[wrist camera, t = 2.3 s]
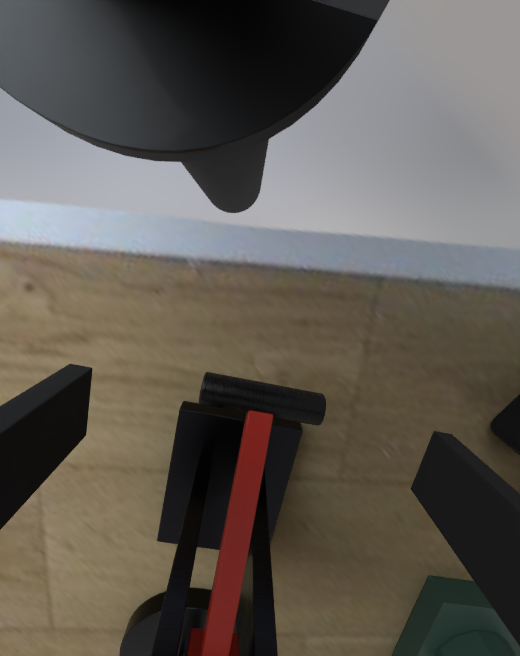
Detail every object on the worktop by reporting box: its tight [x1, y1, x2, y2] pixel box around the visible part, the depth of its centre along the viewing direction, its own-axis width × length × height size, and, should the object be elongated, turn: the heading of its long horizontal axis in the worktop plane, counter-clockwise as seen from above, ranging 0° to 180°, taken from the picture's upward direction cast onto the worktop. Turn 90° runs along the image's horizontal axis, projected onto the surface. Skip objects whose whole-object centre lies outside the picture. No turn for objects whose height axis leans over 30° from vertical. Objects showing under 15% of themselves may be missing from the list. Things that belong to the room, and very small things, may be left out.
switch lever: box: [185, 372, 326, 656], centre depth 13 cm, size 14×6×2 cm, turn 168°
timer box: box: [392, 576, 520, 656], centre depth 27 cm, size 12×10×4 cm
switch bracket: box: [150, 401, 303, 656], centre depth 17 cm, size 12×9×14 cm
